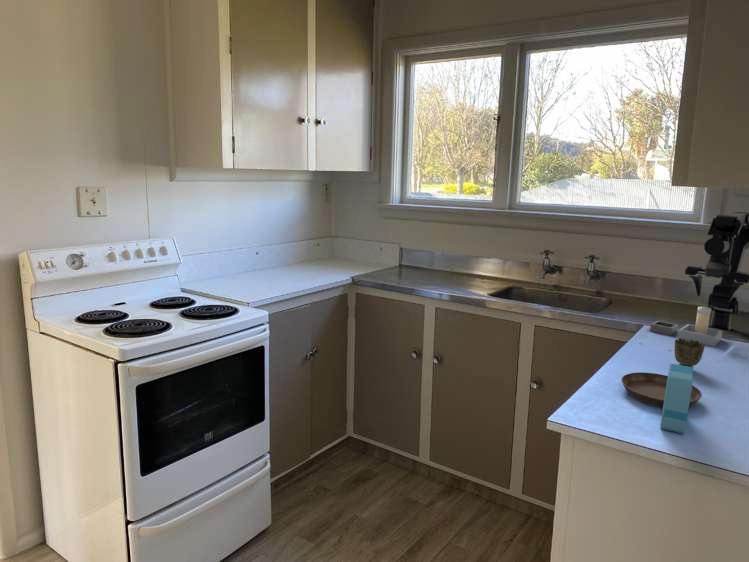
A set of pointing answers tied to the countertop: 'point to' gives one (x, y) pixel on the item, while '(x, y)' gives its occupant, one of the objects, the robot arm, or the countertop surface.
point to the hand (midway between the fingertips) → (713, 298)
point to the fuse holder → (664, 328)
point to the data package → (677, 398)
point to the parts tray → (700, 335)
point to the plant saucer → (652, 388)
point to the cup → (688, 352)
